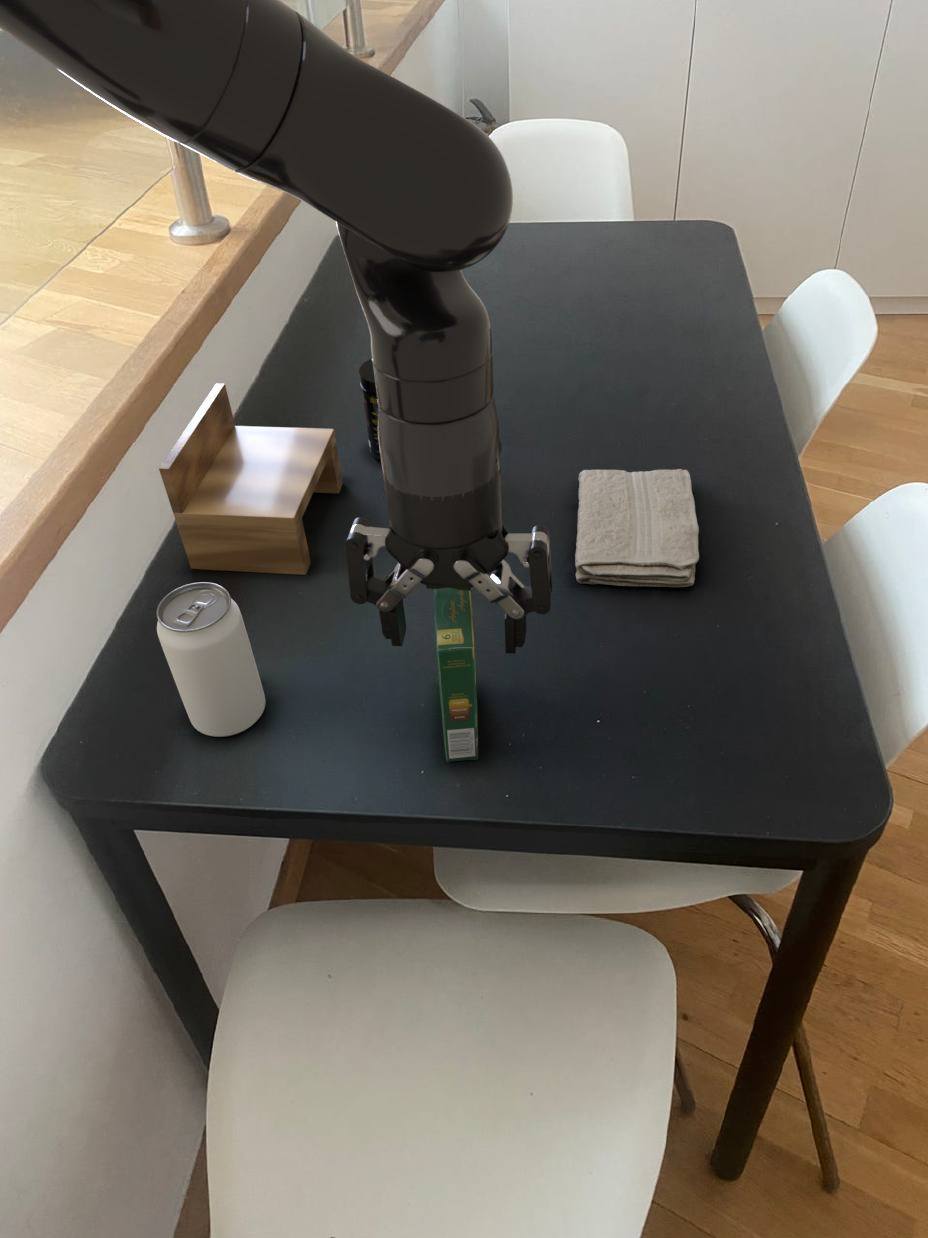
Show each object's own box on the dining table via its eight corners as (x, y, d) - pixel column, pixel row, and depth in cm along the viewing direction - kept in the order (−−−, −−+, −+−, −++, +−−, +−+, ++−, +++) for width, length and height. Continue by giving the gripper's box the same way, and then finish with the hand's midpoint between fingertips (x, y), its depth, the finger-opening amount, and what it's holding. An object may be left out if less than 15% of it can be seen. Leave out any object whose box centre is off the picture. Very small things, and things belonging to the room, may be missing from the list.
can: (281, 695, 79) (253, 590, 71) (237, 749, 75) (202, 644, 67) (220, 674, 81) (185, 570, 73) (174, 726, 77) (132, 621, 69)
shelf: (306, 575, 91) (284, 473, 83) (190, 569, 93) (158, 468, 84) (343, 483, 103) (327, 385, 94) (240, 479, 104) (216, 383, 96)
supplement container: (431, 462, 105) (424, 379, 98) (372, 470, 104) (361, 387, 97) (423, 432, 110) (416, 350, 103) (367, 439, 109) (356, 358, 102)
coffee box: (481, 764, 73) (475, 645, 64) (445, 766, 73) (433, 648, 64) (476, 689, 79) (470, 571, 70) (442, 691, 79) (432, 573, 70)
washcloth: (574, 590, 87) (575, 565, 85) (575, 482, 100) (576, 458, 98) (701, 593, 86) (705, 568, 84) (685, 484, 99) (689, 460, 97)
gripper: (316, 488, 56) (352, 672, 67) (549, 497, 54) (546, 684, 65) (344, 424, 62) (373, 604, 73) (557, 430, 60) (553, 613, 71)
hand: (455, 642), depth 69 cm, fingers open, 8 cm apart
